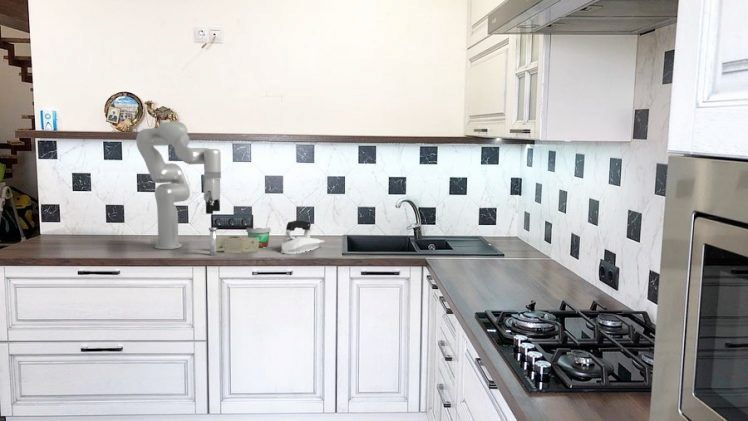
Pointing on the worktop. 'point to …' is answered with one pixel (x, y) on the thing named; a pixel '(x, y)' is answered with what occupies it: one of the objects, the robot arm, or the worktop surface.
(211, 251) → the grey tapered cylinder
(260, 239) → the food container
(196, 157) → the robot arm
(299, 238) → the iron
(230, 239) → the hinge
